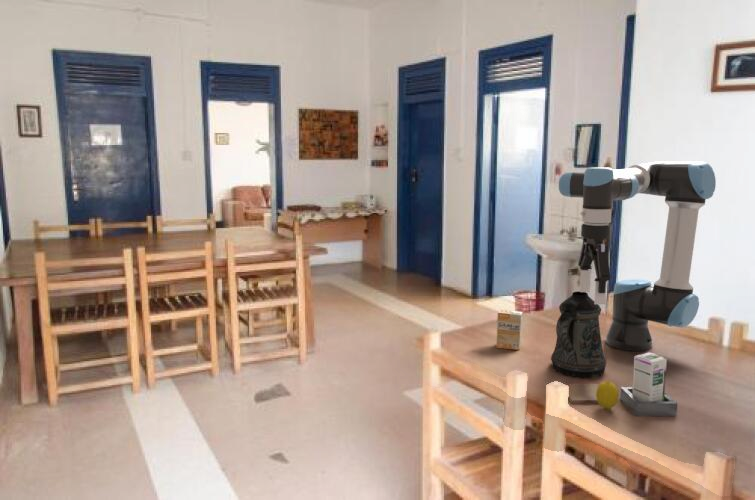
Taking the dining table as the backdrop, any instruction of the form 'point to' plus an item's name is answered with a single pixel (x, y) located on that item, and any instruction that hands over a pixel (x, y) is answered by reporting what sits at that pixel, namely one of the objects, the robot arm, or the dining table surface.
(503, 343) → the supplement box
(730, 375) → the dining table surface
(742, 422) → the dining table surface
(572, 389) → the walnut board
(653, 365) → the syrup box
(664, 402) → the metal collar
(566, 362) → the beer stein
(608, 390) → the lemon
